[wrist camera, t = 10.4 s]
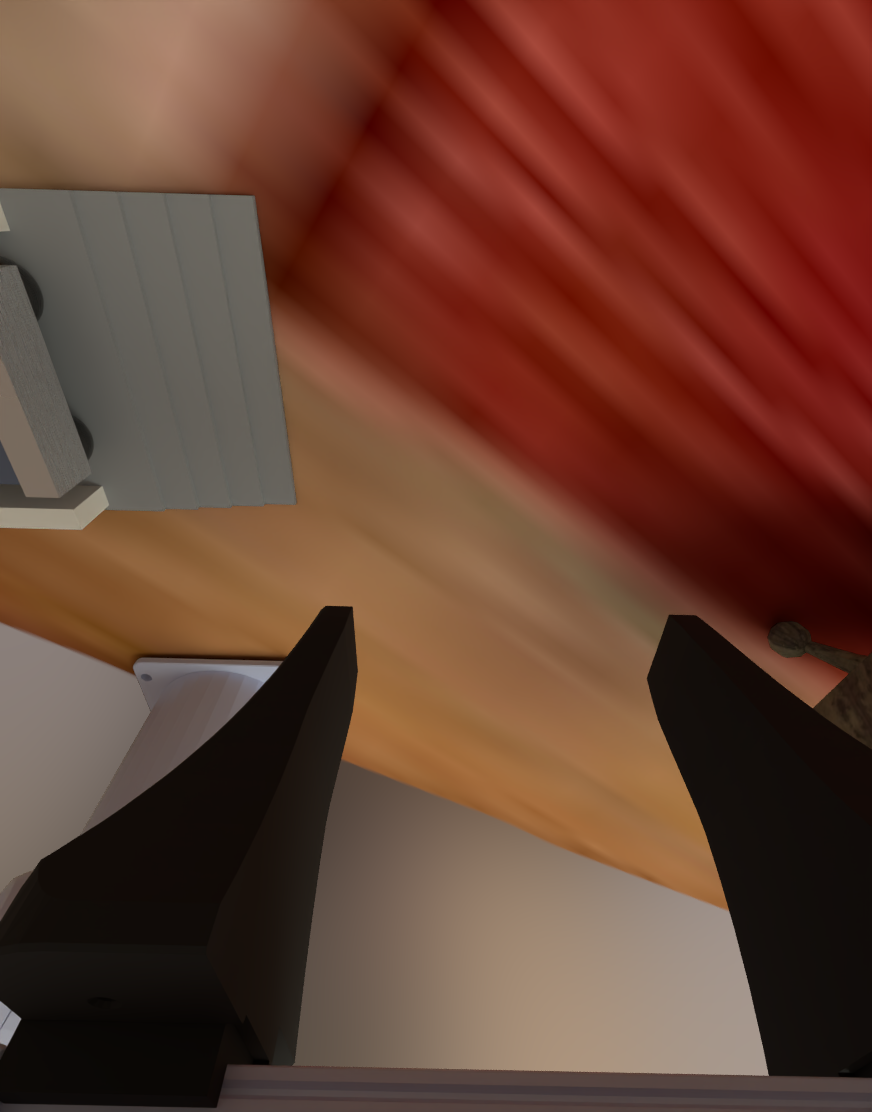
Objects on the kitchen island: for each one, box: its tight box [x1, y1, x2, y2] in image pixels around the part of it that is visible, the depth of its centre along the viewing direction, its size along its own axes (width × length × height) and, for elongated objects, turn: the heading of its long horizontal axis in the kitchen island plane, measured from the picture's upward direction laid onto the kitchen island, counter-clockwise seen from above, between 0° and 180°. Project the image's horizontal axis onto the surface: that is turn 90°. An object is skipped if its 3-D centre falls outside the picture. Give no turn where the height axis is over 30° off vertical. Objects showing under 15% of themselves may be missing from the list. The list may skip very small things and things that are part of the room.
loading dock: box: [0, 188, 297, 530], centre depth 17 cm, size 10×16×4 cm, turn 89°
